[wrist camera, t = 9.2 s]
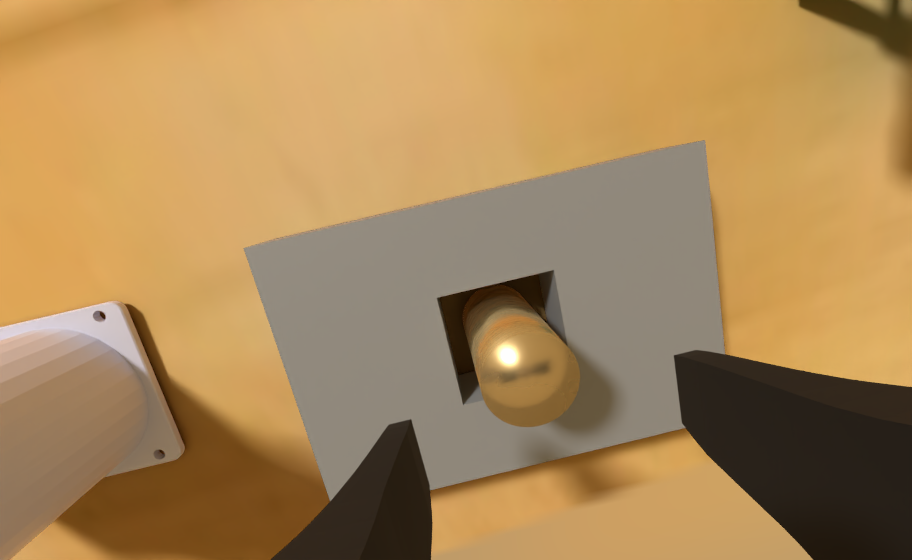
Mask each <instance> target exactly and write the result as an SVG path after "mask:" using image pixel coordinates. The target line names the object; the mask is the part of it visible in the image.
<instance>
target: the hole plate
mask: <svg viewBox="0 0 912 560" xmlns="http://www.w3.org/2000/svg"><path fill="white" fill-rule="evenodd" d="M244 251H245V254H246V257H247V260H248V262H249V265H250V268H251V271H252V274H253V277H254V280H255V283H256V286H257V289H258V292H259V295H260V298H261V300H262V303H263V306H264V309H265V312H266V315H267V318H268V321H269V324H270V327H271V330H272V333H273V336H274V338H275V341H276V344H277V347H278V350H279V353H280V356H281V359H282V362H283V365H284V368H285V371H286V374H287V377H288V379H289V382H290V385H291V388H292V391H293V394H294V397H295V400H296V403H297V406H298V409H299V412H300V415H301V417H302V420H303V423H304V426H305V429H306V432H307V435H308V438H309V441H310V444H311V447H312V450H313V453H314V455H315V458H316V461H317V464H318V467H319V470H320V473H321V476H322V479H323V482H324V485H325V488H326V491H327V493H328V496H329V499H330V501H331V500H332V499H333V498H334V497H335V495H336V494H337V493H338V492H339V490H340V489H341V488H342V487H343V485H344V484H345V483H346V482H347V481H348V479H349V478H350V477H351V476H352V474H353V473H354V472H355V471H356V469H357V468H358V467H359V465H360V464H361V463H362V461H363V460H364V458H365V457H366V456H367V454H368V453H369V452H370V450H371V449H372V447H373V446H374V445H375V443H376V442H377V440H378V439H379V437H380V436H381V434H382V433H383V432H384V430H385V429H386V428H387V426H388V425H389V424H393V423H397V422H401V421H406V420H410V419H411V420H412V424H413V427H414V431H415V435H416V438H417V442H418V445H419V449H420V452H421V456H422V460H423V463H424V467H425V470H426V474H427V478H428V481H429V485H430V490H434V489H438V488H442V487H446V486H450V485H454V484H458V483H462V482H466V481H470V480H474V479H479V478H483V477H487V476H491V475H495V474H499V473H503V472H507V471H511V470H515V469H519V468H523V467H528V466H532V465H536V464H540V463H544V462H548V461H552V460H556V459H560V458H564V457H568V456H573V455H577V454H581V453H585V452H589V451H593V450H597V449H601V448H605V447H609V446H613V445H617V444H622V443H626V442H630V441H634V440H638V439H642V438H646V437H650V436H654V435H658V434H662V433H666V432H671V431H675V430H679V429H683V428H685V426H684V425H683V424H682V420H681V411H680V403H679V395H678V387H677V379H676V371H675V362H674V355H677V354H681V353H685V352H689V351H694V350H701V351H709V352H715V353H720V354H725V349H724V338H723V327H722V317H721V306H720V295H719V284H718V274H717V263H716V252H715V242H714V231H713V220H712V210H711V199H710V188H709V178H708V167H707V156H706V145H705V140H703V141H698V142H693V143H687V144H682V145H677V146H672V147H666V148H661V149H657V150H653V151H648V152H644V153H640V154H636V155H631V156H627V157H623V158H619V159H614V160H610V161H606V162H602V163H597V164H593V165H589V166H584V167H580V168H576V169H572V170H567V171H563V172H559V173H555V174H550V175H546V176H542V177H538V178H533V179H529V180H525V181H520V182H516V183H512V184H508V185H503V186H499V187H495V188H491V189H486V190H482V191H478V192H474V193H469V194H465V195H461V196H456V197H452V198H448V199H444V200H439V201H435V202H431V203H427V204H422V205H418V206H414V207H410V208H405V209H401V210H397V211H392V212H388V213H384V214H380V215H375V216H371V217H367V218H363V219H358V220H354V221H350V222H346V223H341V224H337V225H333V226H328V227H324V228H320V229H316V230H311V231H307V232H303V233H299V234H294V235H290V236H286V237H282V238H277V239H273V240H270V241H266V242H263V243H260V244H256V245H253V246H250V247H246V248H244ZM535 274H538V275H539V281H540V286H541V291H542V297H543V302H544V307H545V312H546V318H547V323H548V326H549V327H550V328H551V329H552V330H553V331H554V332H555V333H556V334H557V336H558V337H559V338H560V339H561V340H562V341H563V342H564V343H565V344H566V346H567V347H568V348H569V349H570V350H571V351H572V353H573V354H574V356H575V358H576V360H577V362H578V366H579V370H580V384H579V389H578V392H577V395H576V397H575V399H574V401H573V402H572V404H571V405H570V407H569V408H568V409H567V410H566V411H565V412H564V413H563V414H562V415H561V416H559V417H558V418H556V419H555V420H553V421H551V422H549V423H547V424H544V425H541V426H536V427H518V426H514V425H510V424H508V423H506V422H503V421H502V420H500V419H499V418H497V417H496V416H495V415H494V414H493V413H492V412H491V411H490V410H489V408H488V407H487V405H486V404H485V402H484V399H483V396H482V393H481V389H480V386H479V382H478V378H477V374H476V371H472V372H468V373H464V374H460V375H458V372H457V367H456V363H455V359H454V355H453V351H452V347H451V343H450V339H449V335H448V331H447V327H446V323H445V319H444V314H443V310H442V306H441V302H440V298H439V297H442V296H447V295H451V294H455V293H459V292H463V291H468V290H472V289H476V288H480V287H484V286H489V285H493V284H497V283H501V282H505V281H510V280H514V279H518V278H522V277H526V276H531V275H535Z"/></svg>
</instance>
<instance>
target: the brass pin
mask: <svg viewBox="0 0 912 560" xmlns="http://www.w3.org/2000/svg"><path fill="white" fill-rule="evenodd" d="M463 325H464V329H465V333H466V336H467V340H468V344H469V348H470V352H471V355H472V359H473V363H474V367H475V371H476V374H477V378H478V382H479V386H480V389H481V393H482V396H483V399H484V402H485V404H486V405H487V407H488V408H489V410H490V411H491V412H492V413H493V414H494V415H495V416H496V417H497V418H499V419H500V420H502V421H503V422H506V423H508V424H510V425H514V426H518V427H536V426H541V425H544V424H547V423H549V422H551V421H553V420H555V419H556V418H558V417H559V416H561V415H562V414H563V413H564V412H565V411H566V410H567V409H568V408H569V407H570V405H571V404H572V402H573V401H574V399H575V397H576V395H577V392H578V389H579V384H580V370H579V366H578V362H577V360H576V358H575V356H574V354H573V353H572V351H571V350H570V349H569V348H568V347H567V346H566V344H565V343H564V342H563V341H562V340H561V339H560V338H559V337H558V336H557V334H556V333H555V332H554V331H553V330H552V329H551V328H550V327H549V326H548V324H547V323H546V322H545V321H544V320H543V319H542V318H541V317H540V316H539V315H538V313H537V312H536V311H535V310H534V309H533V308H532V307H531V306H530V305H529V303H528V302H527V301H526V300H525V299H524V298H523V297H522V296H521V295H520V294H519V293H518V292H517V291H516V290H514V289H512V288H511V287H508V286H504V285H489V286H486V287H483V288H481V289H479V290H478V291H476V292H475V293H474V294H473V295H472V296H471V297H470V298H469V300H468V301H467V303H466V305H465V307H464V311H463Z"/></svg>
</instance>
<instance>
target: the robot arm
mask: <svg viewBox="0 0 912 560" xmlns="http://www.w3.org/2000/svg"><path fill="white" fill-rule="evenodd" d="M100 311H102V312H104V314H105V315H106V319H104V318H102V317H101V316H100ZM674 362H675V371H676V379H677V387H678V395H679V403H680V411H681V420H682V424H683V425H684V426H685V428H686V429H687V430H688V431H689V433H690V434H691V435H692V437H693V438H694V439H695V440H696V442H697V443H698V444H699V445H700V446H701V448H702V449H703V450H704V451H705V452H706V454H707V455H708V456H709V457H710V458H711V459H712V460H713V461H714V462H715V463H716V464H717V465H718V466H720V467H721V469H723V470H724V471H725V472H726V473H727V474H728V475H729V476H730V477H731V478H732V479H733V480H734V481H735V482H736V483H737V484H738V485H739V486H740V487H741V488H742V489H743V490H745V492H747V493H748V494H749V495H750V496H751V497H752V498H753V499H754V500H755V501H756V502H757V503H758V504H759V505H760V506H761V507H762V508H763V509H764V510H765V511H766V512H768V513H769V514H770V515H771V516H772V517H773V518H774V519H775V520H776V521H777V522H778V523H779V524H780V525H781V526H782V527H783V528H785V530H786V531H787V532H788V533H789V534H790V535H791V536H792V537H793V538H794V539H795V540H796V541H797V542H798V543H799V544H800V545H801V546H802V547H803V548H804V550H805V551H806V552H807V553H808V554H809V555H810V556H811V558H812V559H813V560H912V387H905V386H897V385H889V384H881V383H873V382H865V381H858V380H851V379H845V378H839V377H833V376H828V375H822V374H816V373H811V372H805V371H800V370H795V369H790V368H786V367H781V366H776V365H771V364H767V363H762V362H758V361H753V360H748V359H744V358H739V357H735V356H730V355H725V354H720V353H715V352H709V351H701V350H694V351H689V352H685V353H681V354H677V355H674ZM159 450H162V451H164V453H165V454H162V453H160V451H159ZM184 450H185V447H184V443H183V441H182V439H181V436H180V434H179V431H178V429H177V427H176V424H175V422H174V419H173V417H172V415H171V412H170V410H169V407H168V405H167V403H166V400H165V398H164V395H163V393H162V391H161V388H160V386H159V383H158V381H157V379H156V376H155V374H154V371H153V369H152V367H151V364H150V362H149V359H148V357H147V355H146V352H145V350H144V347H143V345H142V343H141V340H140V338H139V335H138V333H137V331H136V328H135V326H134V323H133V321H132V319H131V316H130V314H129V311H128V309H127V307H126V306H125V305H124V304H123V303H121V302H119V301H110V302H106V303H101V304H97V305H93V306H89V307H84V308H80V309H76V310H72V311H67V312H63V313H59V314H55V315H50V316H46V317H42V318H38V319H33V320H29V321H25V322H21V323H16V324H12V325H8V326H4V327H0V560H10V559H11V558H12V557H13V556H15V555H16V554H17V553H18V552H19V551H20V550H21V549H23V548H24V547H25V546H26V545H27V544H28V543H29V542H31V541H32V540H33V539H34V538H35V537H36V536H37V535H39V534H40V533H41V532H42V531H43V530H44V529H45V528H47V527H48V526H49V525H50V524H51V523H52V522H53V521H55V520H56V519H57V518H58V517H59V516H60V515H61V514H63V513H64V512H65V511H66V510H67V509H68V508H69V507H71V506H72V505H73V504H74V503H75V502H76V501H77V500H79V499H80V498H81V497H82V496H83V495H84V494H85V493H86V492H88V491H89V490H90V489H91V488H92V487H93V486H94V485H96V484H97V483H98V482H99V481H100V480H101V479H102V478H104V477H108V476H112V475H116V474H120V473H124V472H128V471H133V470H137V469H141V468H145V467H149V466H153V465H157V464H162V463H166V462H170V461H174V460H176V459H178V458H179V457H180V456H181V455H182V454H183V453H184ZM431 544H432V510H431V497H430V485H429V481H428V478H427V474H426V470H425V467H424V463H423V460H422V456H421V452H420V449H419V445H418V442H417V438H416V435H415V431H414V427H413V424H412V420H411V419H410V420H406V421H401V422H397V423H393V424H389V425H388V426H387V428H386V429H385V430H384V432H383V433H382V434H381V436H380V437H379V439H378V440H377V442H376V443H375V445H374V446H373V447H372V449H371V450H370V452H369V453H368V454H367V456H366V457H365V458H364V460H363V461H362V463H361V464H360V465H359V467H358V468H357V469H356V471H355V472H354V473H353V474H352V476H351V477H350V478H349V479H348V481H347V482H346V483H345V484H344V485H343V487H342V488H341V489H340V490H339V492H338V493H337V494H336V495H335V497H334V498H333V499H332V500H331V501H330V502H329V504H328V505H327V506H326V507H325V508H324V509H323V510H322V511H321V512H320V513H319V514H318V516H317V517H316V518H315V519H314V520H313V521H312V522H311V523H310V524H309V525H308V526H307V527H306V528H305V529H304V530H303V531H302V532H301V533H300V534H299V535H298V536H297V537H296V538H294V539H293V540H292V541H291V542H290V543H289V544H288V545H287V546H285V547H284V548H283V549H282V550H281V551H280V552H279V553H277V554H276V555H275V556H274V557H273V558H272V559H271V560H431Z"/></svg>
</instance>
